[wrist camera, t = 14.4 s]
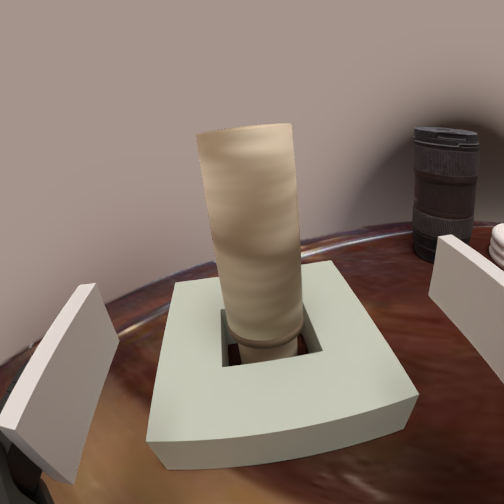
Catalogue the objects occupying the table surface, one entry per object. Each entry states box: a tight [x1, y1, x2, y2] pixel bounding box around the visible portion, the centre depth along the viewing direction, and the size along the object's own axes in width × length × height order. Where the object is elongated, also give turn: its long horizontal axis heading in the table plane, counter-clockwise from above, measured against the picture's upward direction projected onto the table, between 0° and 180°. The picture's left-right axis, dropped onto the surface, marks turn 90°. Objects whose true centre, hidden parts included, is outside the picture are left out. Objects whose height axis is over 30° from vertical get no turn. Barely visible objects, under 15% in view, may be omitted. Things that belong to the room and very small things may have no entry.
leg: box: [196, 123, 304, 365], centre depth 18 cm, size 5×5×16 cm
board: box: [146, 260, 419, 470], centre depth 21 cm, size 14×16×4 cm
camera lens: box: [412, 127, 479, 262], centre depth 30 cm, size 8×8×15 cm
